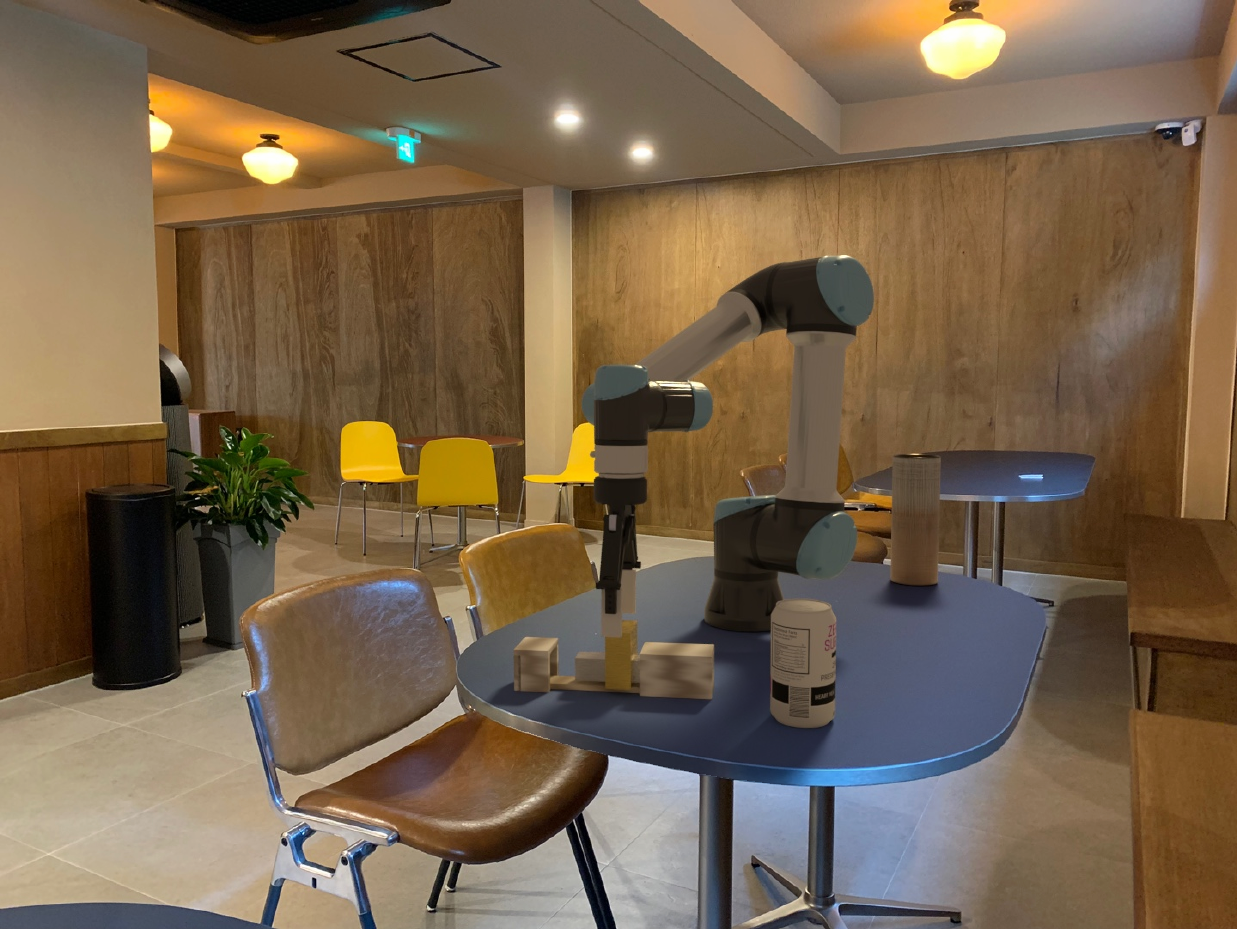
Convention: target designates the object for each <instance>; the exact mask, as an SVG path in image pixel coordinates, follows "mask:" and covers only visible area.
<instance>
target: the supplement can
mask: <svg viewBox="0 0 1237 929" xmlns="http://www.w3.org/2000/svg"><path fill="white" fill-rule="evenodd" d="M836 661H837V617H836V615H835V614H834V611H833V609H832V605H831V603H828V602H826V601H823V600H820V599H813V598H788V599H787V598H786V599H784V600H781V601H778V602H777V603H776V607H775V608H774V610H773V612H772V614H771V630H770V684H769V685H770V689H769V690H770V692H769V694H770V695H769V696H770V697H769V699H770V700H769V701H770V703H769V704H770V705H769V706H770V708H769V711H770V714H771V716H773V717H774V718H775V720H776V721H777V722H779V724H782V725H785V726H788V727H792V728H798V729H816V728H820V727H825V726H827V725H828V724H829V723H830V721H833V720H834V718H835V716H836V678H837V677H836V674H837V672H836V670H837V669H836V666H837V662H836Z"/></svg>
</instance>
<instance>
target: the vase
mask: <svg viewBox="0 0 1237 929" xmlns="http://www.w3.org/2000/svg"><path fill="white" fill-rule="evenodd" d="M941 458H942V457H941V456H940V455H938V454H926V453H902V454H901V453H900V454H899V453H898V454H894V455H893V456H892V476H891V477H892V478H891V480H892V481H891V486H892V487H891V523H890V524H891V526H890V527H891V528H890V530H891V531H890V534H891V538H890V574H889V575H890V580H891V582H892V583H895V584H898V585H899V584H900V585H905V586H913V587H926V586H934V585H936V584H937V583H938V582H939V581H938V580H939V550H940V549H939V546H940V545H939V542H940V539H939V538H940V501H941V499H940V498H941V463H942V462H941V460H942V459H941Z"/></svg>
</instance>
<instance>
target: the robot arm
mask: <svg viewBox="0 0 1237 929" xmlns="http://www.w3.org/2000/svg"><path fill="white" fill-rule="evenodd" d="M874 298H875V296H874V288H873V283H872V280H871V277H870V275H869V273H867V270H866V268H865V267H864V265H863V264H862V263H861V262H860V261H859V260H858V259H856V258H855V257H852V256H850V255H843V254H841V255H827V254H826V255H823V256H819V257H814V258H813V257H812V258H808V259H801V260H794V261H784V262H779V263H775V264H771V265H768V266H767V267H765V268H763V269H761V270H758V271H757V272H755V273H754V274H752V275H750V276H749V277H746V278H745V279H744V280H742V281H741V282H739V283H737V284H736V285H735V286H733V287H732V288H730V290H728V291H726V292H725V293H723V294H722V295H721V296H720V297H719V298H718V300H717V303H716V305H715V307H714V308H712V309H711V310H709V311H708V312H706V313H705V314H704V315H702V316H701V317H700V318H698V319H697V320H695V321H694V322H692V323H690V325H688V326H687V327H686V328H684V329H683V330H681V331H680V332H679V333H677V334H675V335H674V336H672V337H671V338H670V339H668V340H667V341H666V342H664V343H662V344H661V345H660V346H659V347H658V348H656V349H654V350H653V351H651V352H650V353H649V354H647V355H646V356H644V357H643V358H642V359H640V360H639V361H637V362H636V363H635V364H603V365H601V366H599V367H598V368H597V369H596V371H595V375H594V382H593V383H591V384H590V385H589V386H587V388H586V389H585V390H584V392H583V394H582V398H581V411H582V413H583V416H584V418H585V420H586V421H587V422H588V423H589V424H590V425H592V426H593V435H594V436H593V438H594V440H593V442H594V443H593V444H594V448H593V449H594V450H592V451H590V453H589V457H590V458H591V459H594V461H593V465H594V466H593V471H594V472H595V473H596V474H598V475H597V476H595V477H594V479H593V501H594V503H596V504H599V505H607V506H608V514H604V515H603V516H602V518H603V519H602V520H603V521H602V522H603V532H602V534H603V535H602V546H601V556H600V567H599V579H598V581H597V582H595V589H596V590H601V600H600V601H601V604H600V605H601V608H600V609H601V611H600V612H601V613H600V614H601V619H600V623H601V625H600V626H601V631H600V633H601V634H600V635H601V636H600V637H602V638H603V637H604V638H605V637H622V620H623V614H631V615H632V614H633V615H634V614H636V610H637V609H636V606H637V605H636V603H637V602H636V600H637V598H636V596H637V595H636V594H637V591H636V590H637V587H636V586H637V569H639V570H641V567H642V562H641V561H638V560H639V556H638V542H637V527H636V526H637V525H636V524H637V523H636V522H637V519H636V518H637V517H636V509H637V508H636V506H638V505H643V504H645V503H646V502H647V501H648V479H647V478H646V477H645V476H644V474H646V473H647V472H648V471H649V470H648V469H649V468H648V467H649V463H648V462H649V461H648V460H649V459H648V458H649V454H648V453H649V451H648V450H649V445H648V443H649V442H648V438H649V437H648V436H649V433H653V432H654V433H655V432H656V433H657V432H658V433H659V432H661V433H665V432H666V433H668V432H669V433H671V432H672V433H673V432H676V433H677V432H678V433H679V432H681V433H689V432H693V431H694V432H695V431H699V430H702V429H703V428H705V427H707V425H708V424H709V422H710V421H711V419H712V417H713V413H714V409H713V408H714V399H713V395H712V393H711V391H710V390H709V388H708V387H707V386H706V385H705V384H704V383H702V382H700V381H691V380H692V379H694V378H695V377H696V376H698V375H699V374H700V373H701V372H704V370H706V369H707V368H709V367H710V366H711V365H712V364H714V363H715V362H716V361H718V360H719V359H721V358H722V357H723V356H724V355H726V354H727V353H728V352H730V351H731V350H732V349H734V348H735V347H736V346H738V345H739V344H741V343H749V342H752V341H754V340H756V339H757V338H758V337H759V336H761V335H763V334H766V333H770V332H775V331H781V330H786V331H785V332H786V334H785V337H786V338H787V339H788V340H789V341H790V342H791V343H792V346H793V350H794V351H793V361H792V362H793V363H792V375H791V376H792V378H791V379H792V380H791V389H790V390H791V392H790V405H789V406H790V408H789V421H788V422H789V424H788V434H787V436H788V437H787V451H786V452H787V453H786V466H785V467H786V468H785V480H784V481H785V483H784V487H783V488H782V489H781V490H780V491H779V492H778V493H777V494H768V495H767V494H766V495H765V494H764V495H752V496H751V495H750V496H740V497H731V498H723V499H720V500H719V501H717V503H715V507H714V517H713V518H714V519H713V520H712V521H713V523H712V524H713V567H714V568H713V570H714V571H713V582H712V585H711V588H710V591H709V594H708V597H707V600H706V603H705V605H704V623H706V624H708V625H709V626H711V627H715V628H718V629H722V630H727V631H735V632H764V631H767V632H768V631H771V614H772V612H773V610H774V608H775V607H776V603H777V602H778V601H781V600H785V597H784V595H783V594H784V593H783V592H782V587H781V585H780V581H779V573H784V574H789V575H793V576H797V577H798V576H799V577H802V578H804V579H807V580H809V579H810V580H811V579H817V580H823V581H825V580H831V579H834V578H835V577H837V576H839V575H840V574H841V573H843V572H844V570H845V569H846V567H847V566H849V564H850V562H851V561H852V559H853V557H854V555H855V552H856V548H857V544H858V528H857V526H856V524H855V523H856V522H855V520H854V519H853V517H852V516H851V515H850V514H848V513H847V512H845V506H846V505H845V503H846V502H845V501H846V500H845V499H844V498H843V497H842V495H841V494H840V493H839V492H838V490H837V485H838V474H839V472H838V470H839V455H840V441H841V440H840V439H841V426H842V414H843V398H844V397H843V396H844V386H845V385H844V383H845V372H846V371H845V370H846V369H845V368H846V367H845V366H846V356H847V355H846V353H847V352H846V351H847V348H848V347H849V346H850V345H851V344H852V343H853V342H855V341H856V339H857V331H858V326H861V325H862V324H864V323H866V322H867V321H868V320H869V318H870V315H871V314H872V312H873V310H874V302H875V301H874V300H875V299H874Z"/></svg>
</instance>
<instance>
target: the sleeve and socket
mask: <svg viewBox="0 0 1237 929" xmlns="http://www.w3.org/2000/svg"><path fill="white" fill-rule="evenodd" d="M639 654H640V683H634V684H633V686H632V688H631V690H624V689H605V681H585V680H575V675H573V676H572V675H570V676H569V675H559V674H560V673H559V672H560V671H559V670H560V669H559V668H560V667H559V666H560V664H559V663H560V662H559V660H560V658H559V637H540V636H539V637H538V636H534V637H532V636H525V637H524V638H522V640H521V641H520V642H519V643H518V644H517V645H516V646H515V647H514V648H513V691H515V692H532V693H550V691H551V690H565V691H586V692H587V691H589V692H608V693H609V692H611V693H629V694H630V693H631V694H639V696H640V697H650V698H651V697H653V698H675V699H676V698H677V699H696V700H712V699H713V693H714V687H715V667H714V668H713V685H712V659H713V657H714V658H715V644H713V643H711V644H710V643H709V644H707V643H705V644H704V643H683V642H682V643H680V642H658V641H657V642H653V641H651V642H650V641H645V642H644V644H643V646H642V648H641V650H640V653H639Z"/></svg>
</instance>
